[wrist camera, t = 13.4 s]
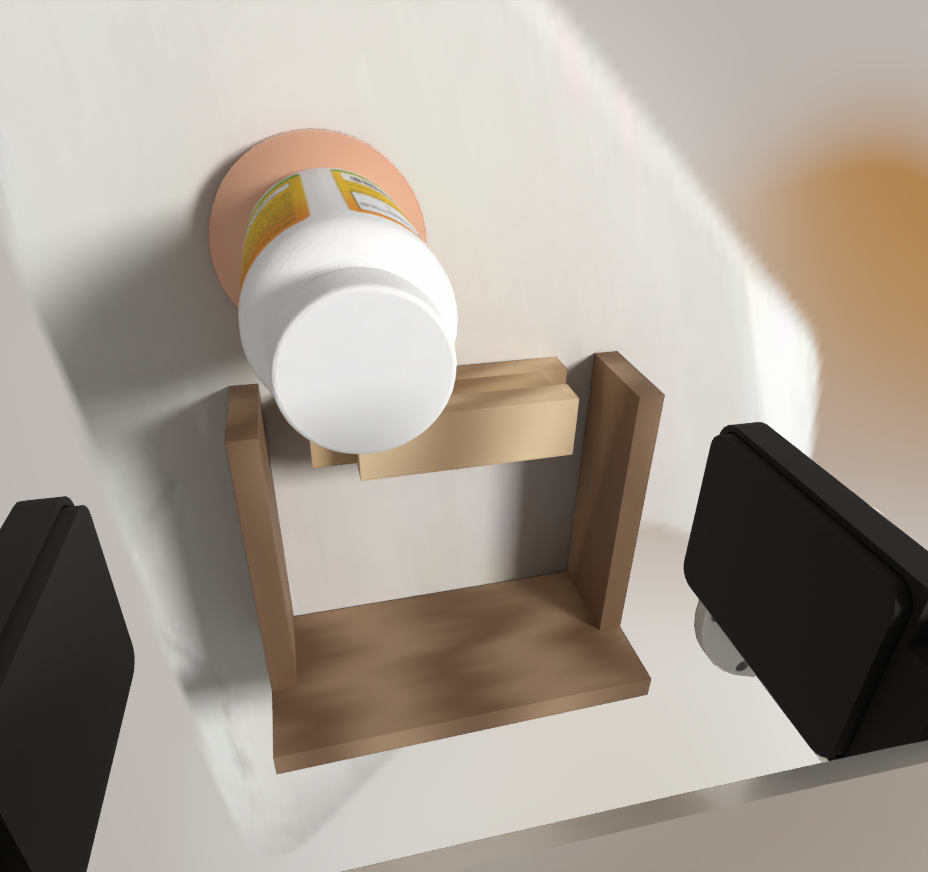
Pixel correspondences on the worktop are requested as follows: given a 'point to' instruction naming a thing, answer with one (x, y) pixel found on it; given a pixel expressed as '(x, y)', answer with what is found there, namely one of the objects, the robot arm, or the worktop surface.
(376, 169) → the terracotta coaster
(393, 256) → the supplement bottle
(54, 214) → the worktop surface
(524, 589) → the frame
